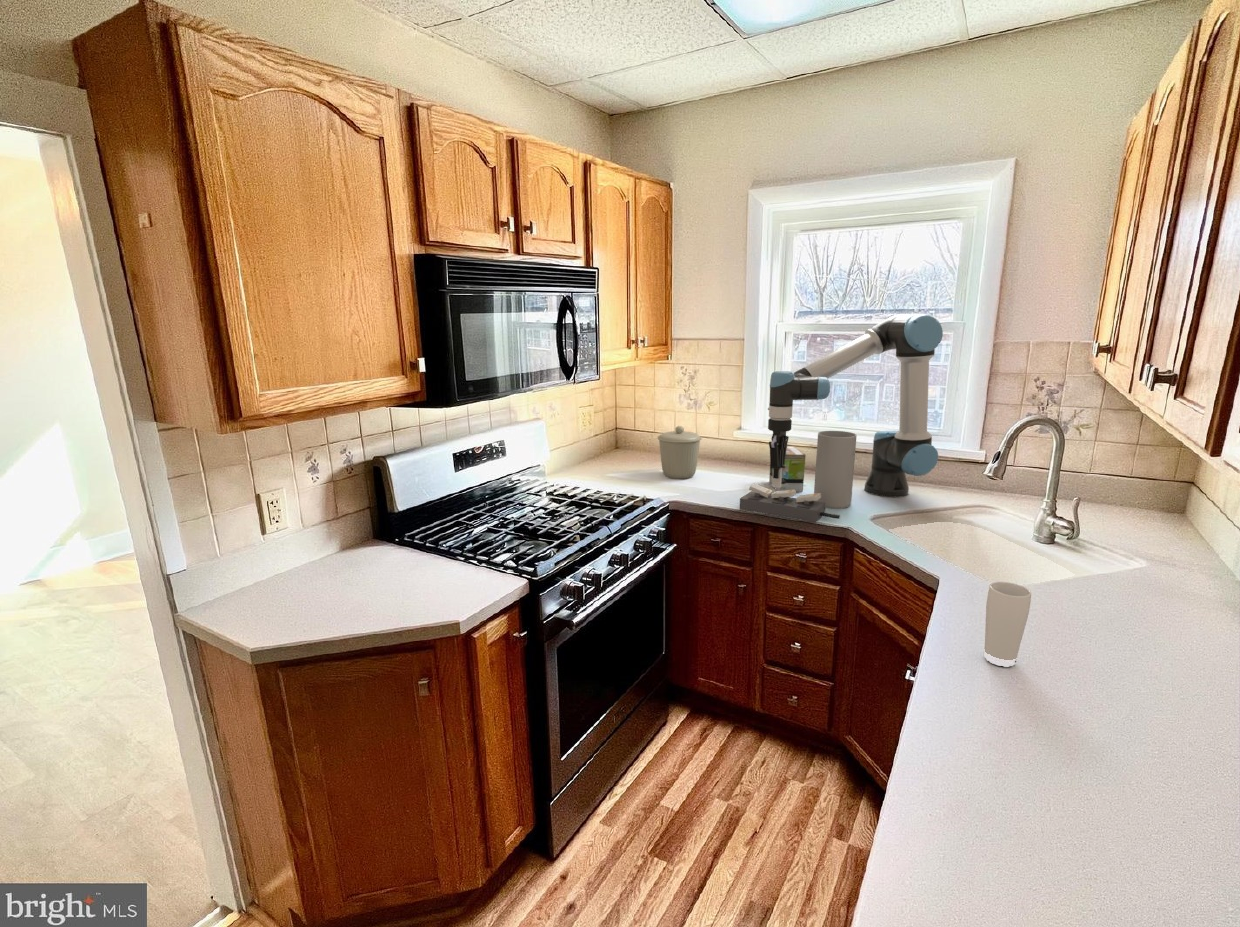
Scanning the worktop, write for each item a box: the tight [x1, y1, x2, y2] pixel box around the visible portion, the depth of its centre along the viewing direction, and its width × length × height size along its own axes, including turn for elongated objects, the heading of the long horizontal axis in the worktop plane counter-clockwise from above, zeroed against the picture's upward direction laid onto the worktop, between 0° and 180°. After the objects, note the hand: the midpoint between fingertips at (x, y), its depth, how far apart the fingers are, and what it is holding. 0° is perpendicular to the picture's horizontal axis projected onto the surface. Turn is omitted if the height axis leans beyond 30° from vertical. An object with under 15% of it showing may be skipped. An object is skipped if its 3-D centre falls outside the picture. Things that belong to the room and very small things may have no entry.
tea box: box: [768, 446, 807, 493], centre depth 235 cm, size 15×10×15 cm
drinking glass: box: [984, 581, 1032, 660], centre depth 115 cm, size 7×7×15 cm
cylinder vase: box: [813, 430, 858, 510], centre depth 212 cm, size 12×12×25 cm
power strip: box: [739, 491, 841, 523], centre depth 205 cm, size 32×10×5 cm, turn 56°
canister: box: [656, 425, 703, 480], centre depth 252 cm, size 18×18×21 cm
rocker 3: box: [795, 493, 821, 502], centre depth 203 cm, size 7×4×2 cm, turn 56°
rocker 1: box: [748, 483, 774, 498], centre depth 212 cm, size 7×4×2 cm, turn 56°
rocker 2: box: [771, 490, 797, 498], centre depth 207 cm, size 7×4×2 cm, turn 57°
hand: (776, 486), depth 208 cm, fingers closed
